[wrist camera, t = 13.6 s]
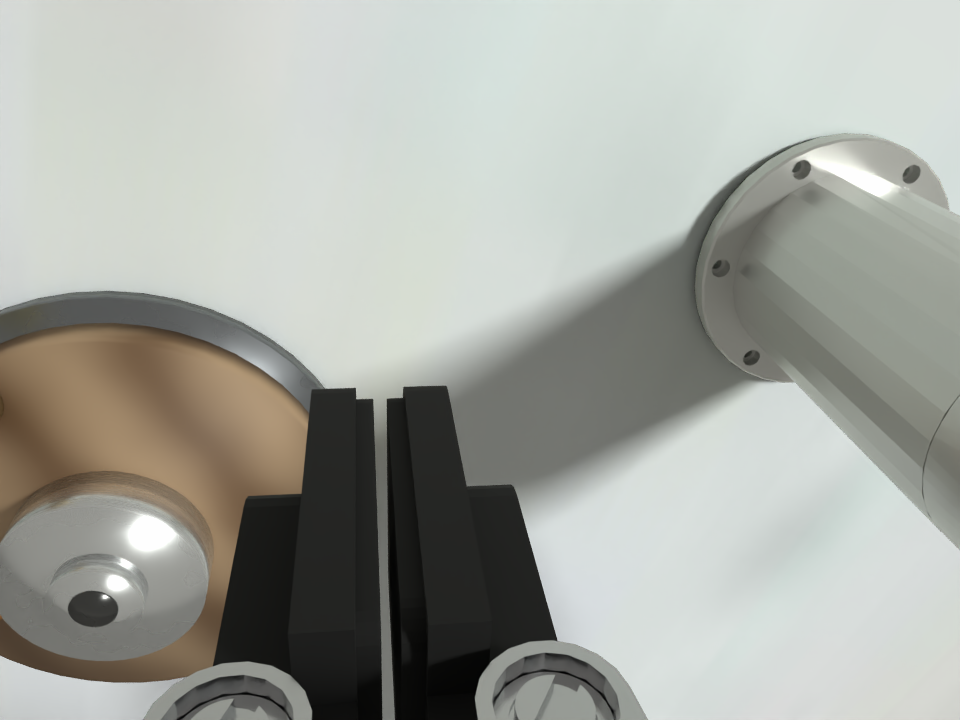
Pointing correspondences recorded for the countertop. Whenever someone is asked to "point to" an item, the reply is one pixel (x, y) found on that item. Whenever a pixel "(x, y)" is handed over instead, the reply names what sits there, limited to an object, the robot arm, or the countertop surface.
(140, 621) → the cover
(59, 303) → the turntable base
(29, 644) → the turntable
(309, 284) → the countertop surface
